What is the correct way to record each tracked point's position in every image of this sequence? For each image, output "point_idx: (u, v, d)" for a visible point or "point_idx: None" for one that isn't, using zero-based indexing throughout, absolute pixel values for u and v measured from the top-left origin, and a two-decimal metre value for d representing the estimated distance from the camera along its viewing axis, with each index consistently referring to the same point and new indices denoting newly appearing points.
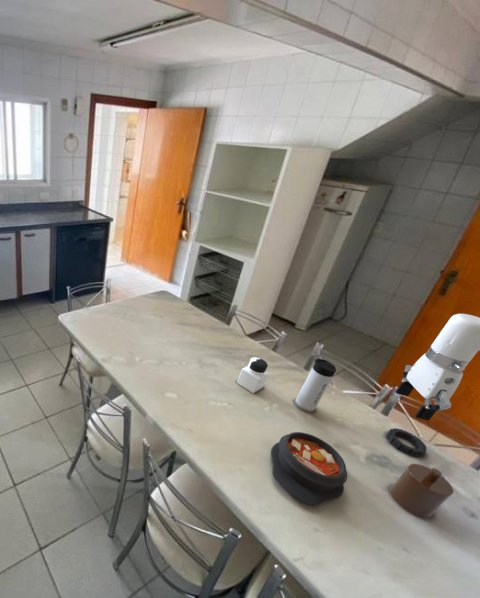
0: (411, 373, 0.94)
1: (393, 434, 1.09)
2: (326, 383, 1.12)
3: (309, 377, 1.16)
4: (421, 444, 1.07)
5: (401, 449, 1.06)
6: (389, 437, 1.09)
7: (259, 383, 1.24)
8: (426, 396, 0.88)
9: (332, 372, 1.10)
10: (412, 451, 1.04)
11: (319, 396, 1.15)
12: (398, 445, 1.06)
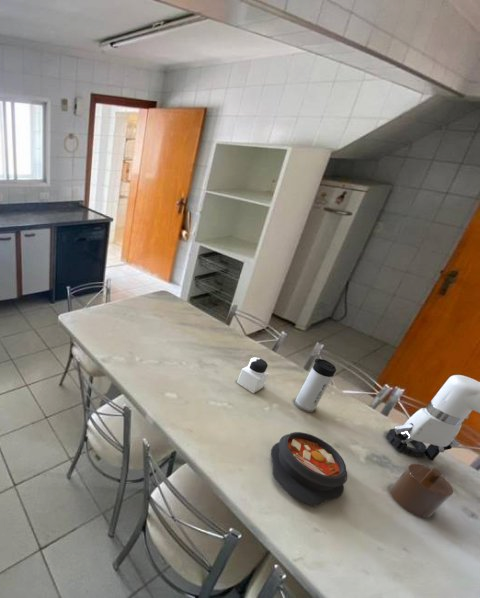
0: (421, 435, 1.00)
1: (393, 434, 1.09)
2: (326, 383, 1.12)
3: (309, 377, 1.16)
4: (421, 444, 1.07)
5: None
6: (389, 437, 1.09)
7: (259, 383, 1.24)
8: (445, 445, 0.99)
9: (332, 372, 1.10)
10: (412, 451, 1.04)
11: (319, 396, 1.15)
12: None
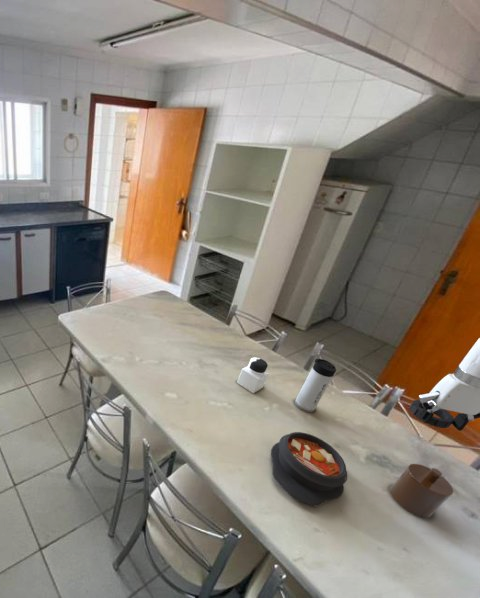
0: (449, 403, 0.93)
1: (417, 405, 1.03)
2: (326, 383, 1.12)
3: (309, 377, 1.16)
4: (448, 415, 1.00)
5: None
6: (413, 408, 1.03)
7: (259, 383, 1.24)
8: (475, 413, 0.93)
9: (332, 372, 1.10)
10: (438, 421, 0.98)
11: (319, 396, 1.15)
12: None
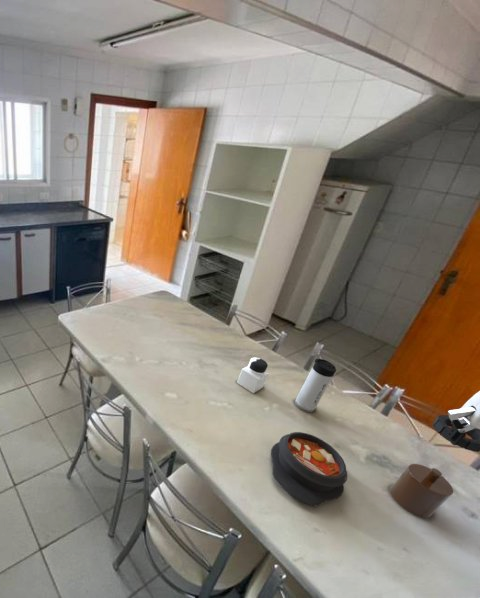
0: None
1: (443, 422, 0.84)
2: (326, 383, 1.12)
3: (309, 377, 1.16)
4: None
5: None
6: (437, 425, 0.84)
7: (259, 383, 1.24)
8: None
9: (332, 372, 1.10)
10: (471, 443, 0.79)
11: (319, 396, 1.15)
12: None
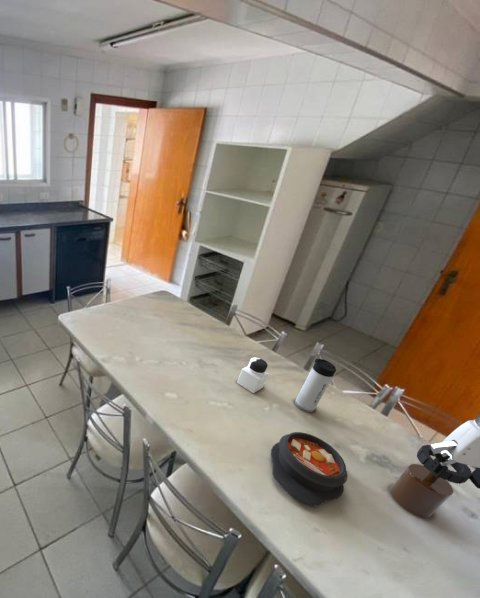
0: (468, 457, 0.75)
1: (427, 453, 0.85)
2: (326, 383, 1.12)
3: (309, 377, 1.16)
4: (464, 466, 0.82)
5: None
6: (421, 456, 0.85)
7: (259, 383, 1.24)
8: None
9: (332, 372, 1.10)
10: (453, 476, 0.80)
11: (319, 396, 1.15)
12: None
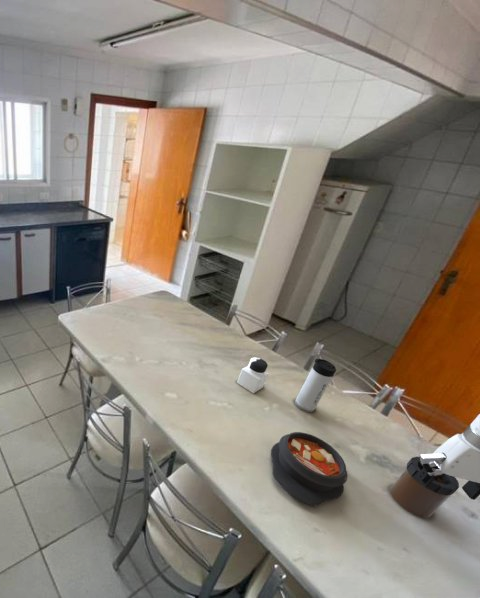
0: (456, 469, 0.77)
1: (416, 465, 0.87)
2: (326, 383, 1.12)
3: (309, 377, 1.16)
4: (452, 478, 0.84)
5: None
6: (410, 468, 0.87)
7: (259, 383, 1.24)
8: None
9: (332, 372, 1.10)
10: (441, 488, 0.82)
11: (319, 396, 1.15)
12: None
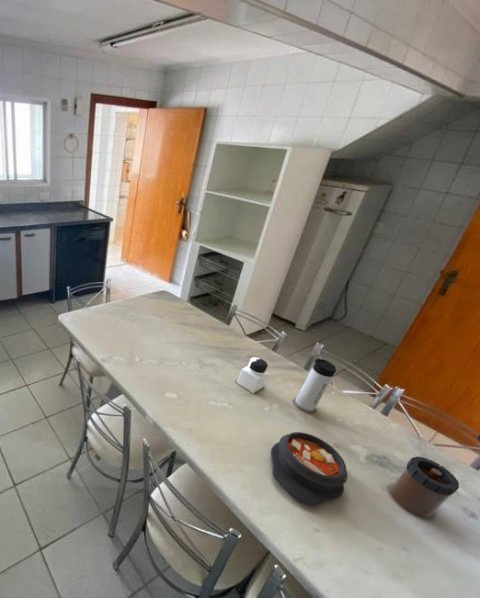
0: None
1: (416, 465, 0.87)
2: (326, 383, 1.12)
3: (309, 377, 1.16)
4: (452, 478, 0.84)
5: (427, 485, 0.84)
6: (410, 468, 0.87)
7: (259, 383, 1.24)
8: None
9: (332, 372, 1.10)
10: (441, 488, 0.82)
11: (319, 396, 1.15)
12: (423, 479, 0.84)
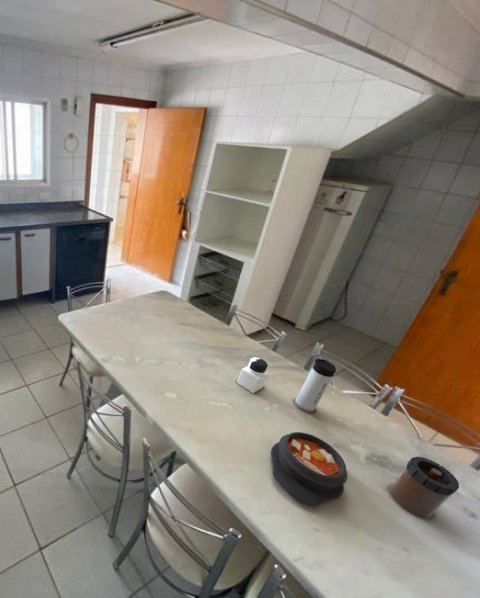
0: None
1: (416, 465, 0.87)
2: (326, 383, 1.12)
3: (309, 377, 1.16)
4: (452, 478, 0.84)
5: (427, 485, 0.84)
6: (410, 468, 0.87)
7: (259, 383, 1.24)
8: None
9: (332, 372, 1.10)
10: (441, 488, 0.82)
11: (319, 396, 1.15)
12: (423, 479, 0.84)
